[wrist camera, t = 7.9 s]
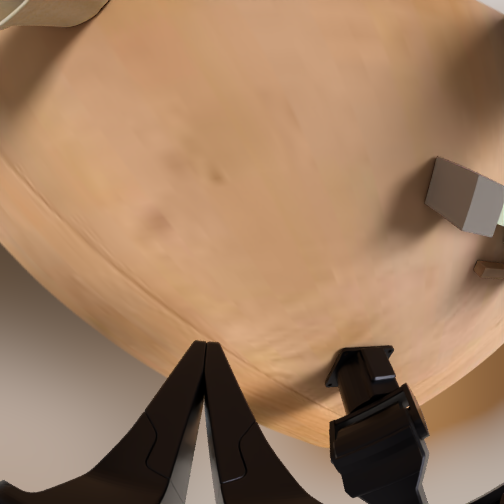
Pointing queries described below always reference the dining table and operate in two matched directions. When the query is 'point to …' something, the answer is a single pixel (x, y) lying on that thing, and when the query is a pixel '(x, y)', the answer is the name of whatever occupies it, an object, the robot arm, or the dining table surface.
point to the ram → (466, 198)
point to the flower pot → (47, 12)
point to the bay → (489, 269)
